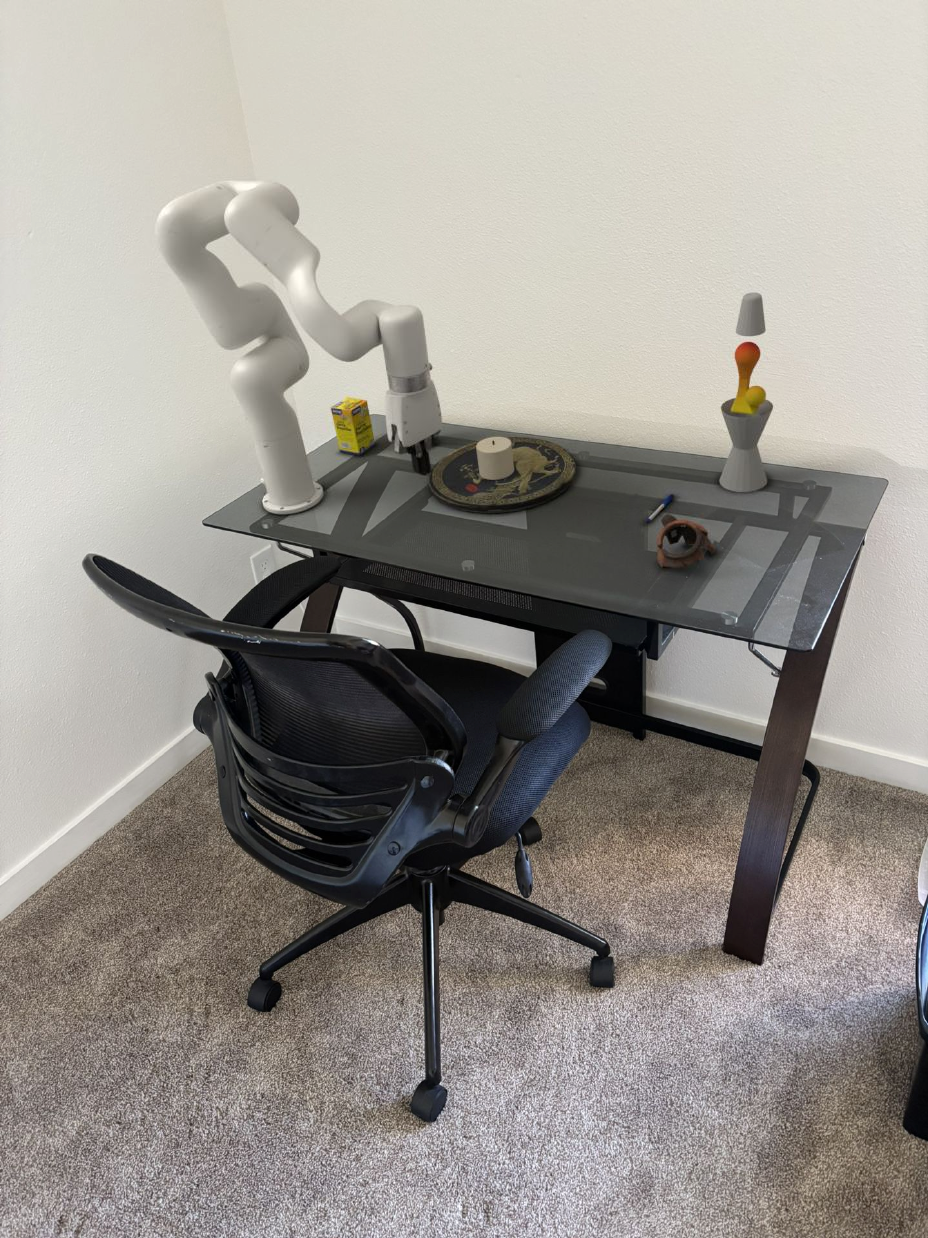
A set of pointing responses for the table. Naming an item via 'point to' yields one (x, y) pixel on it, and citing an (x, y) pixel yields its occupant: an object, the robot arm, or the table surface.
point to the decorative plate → (532, 482)
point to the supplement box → (353, 426)
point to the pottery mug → (691, 536)
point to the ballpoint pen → (660, 507)
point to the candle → (495, 458)
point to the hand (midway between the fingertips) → (422, 471)
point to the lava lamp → (746, 406)
